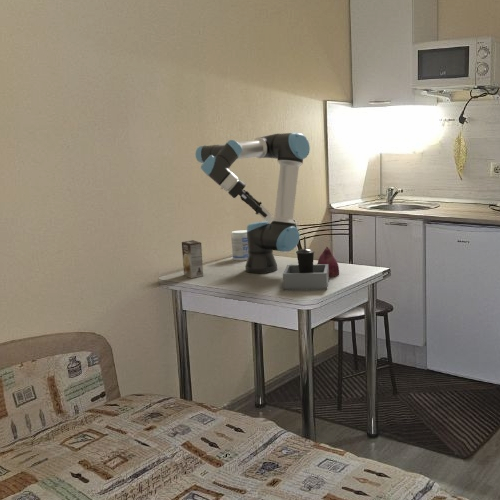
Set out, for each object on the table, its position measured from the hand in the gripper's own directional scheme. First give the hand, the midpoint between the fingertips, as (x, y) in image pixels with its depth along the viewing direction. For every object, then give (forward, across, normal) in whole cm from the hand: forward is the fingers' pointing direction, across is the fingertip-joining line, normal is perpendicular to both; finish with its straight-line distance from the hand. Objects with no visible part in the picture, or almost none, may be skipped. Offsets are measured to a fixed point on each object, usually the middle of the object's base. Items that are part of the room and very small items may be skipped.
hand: (271, 219), depth 292 cm
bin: (+30, +1, -11) cm, 32 cm away
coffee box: (-5, -32, -46) cm, 56 cm away
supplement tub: (+11, -64, -30) cm, 72 cm away
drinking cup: (+29, +1, -11) cm, 31 cm away
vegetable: (+38, -17, -3) cm, 42 cm away
